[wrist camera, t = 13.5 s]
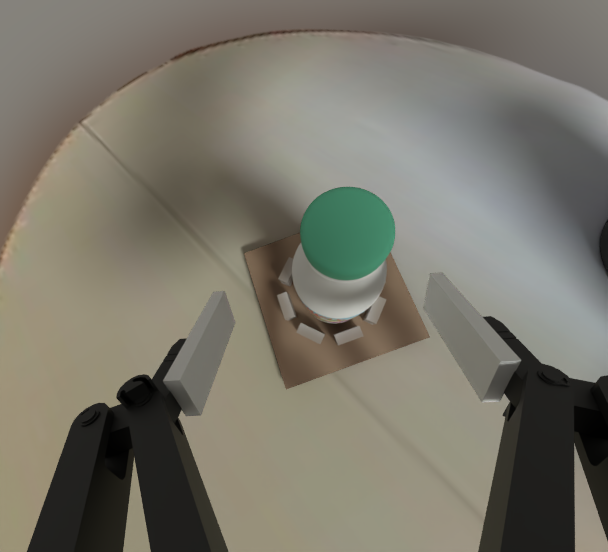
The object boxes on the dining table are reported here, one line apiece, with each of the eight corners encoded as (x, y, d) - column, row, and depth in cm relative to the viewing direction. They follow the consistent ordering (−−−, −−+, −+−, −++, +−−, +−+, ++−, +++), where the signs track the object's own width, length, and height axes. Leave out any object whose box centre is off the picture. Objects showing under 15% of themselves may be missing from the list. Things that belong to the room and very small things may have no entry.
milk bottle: (316, 254, 32) (302, 138, 13) (372, 275, 31) (453, 181, 12) (293, 309, 31) (240, 272, 11) (351, 333, 30) (403, 337, 10)
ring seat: (367, 212, 35) (372, 197, 31) (424, 336, 30) (439, 337, 26) (247, 256, 35) (237, 247, 31) (287, 386, 30) (282, 394, 27)
